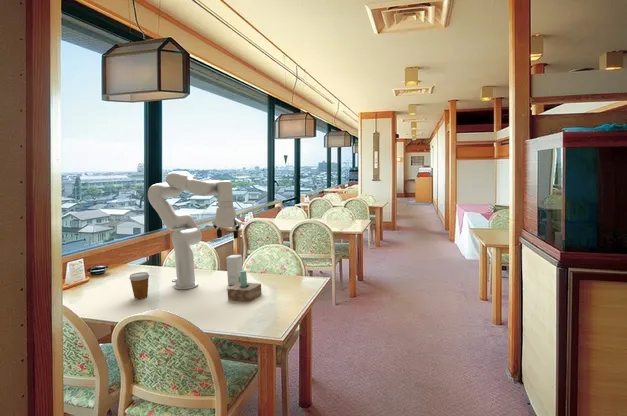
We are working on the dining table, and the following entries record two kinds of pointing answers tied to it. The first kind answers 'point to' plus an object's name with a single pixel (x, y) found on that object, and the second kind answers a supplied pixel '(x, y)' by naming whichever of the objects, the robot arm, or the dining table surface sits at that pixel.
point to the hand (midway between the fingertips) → (227, 237)
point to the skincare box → (234, 269)
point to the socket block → (244, 292)
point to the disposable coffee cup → (139, 284)
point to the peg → (243, 279)
